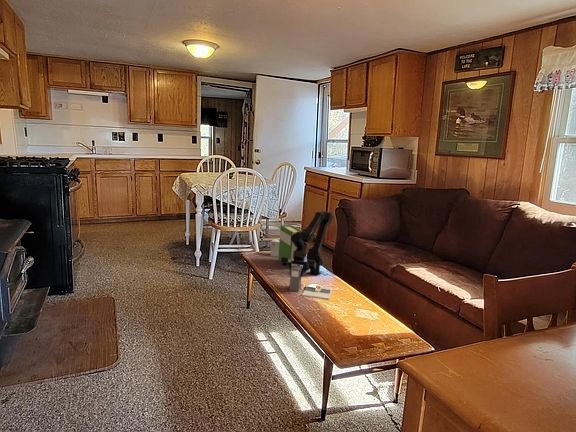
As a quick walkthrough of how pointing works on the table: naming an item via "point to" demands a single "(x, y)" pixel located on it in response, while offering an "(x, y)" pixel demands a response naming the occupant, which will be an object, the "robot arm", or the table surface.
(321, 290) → the din rail
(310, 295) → the board
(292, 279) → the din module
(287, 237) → the hardback book
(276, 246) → the light bulb box
